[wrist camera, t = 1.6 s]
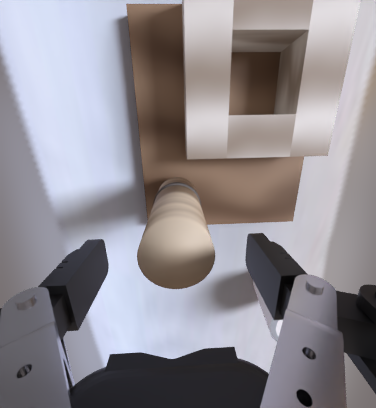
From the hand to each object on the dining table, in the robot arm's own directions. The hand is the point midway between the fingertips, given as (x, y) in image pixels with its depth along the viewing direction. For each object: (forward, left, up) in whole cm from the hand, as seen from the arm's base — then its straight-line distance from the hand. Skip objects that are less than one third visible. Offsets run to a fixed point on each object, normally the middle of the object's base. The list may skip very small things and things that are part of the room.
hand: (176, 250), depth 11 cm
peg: (0, 0, -11) cm, 11 cm away
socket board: (-6, +5, -13) cm, 15 cm away
